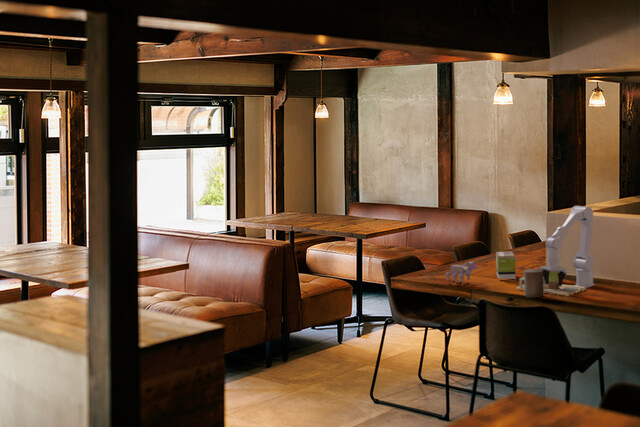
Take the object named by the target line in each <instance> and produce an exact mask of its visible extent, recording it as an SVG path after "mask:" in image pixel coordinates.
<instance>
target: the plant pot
mask: <svg viewBox="0 0 640 427" xmlns="http://www.w3.org/2000/svg"><path fill="white" fill-rule="evenodd" d="M544 267H548V265H546V266H544ZM559 268H563V266H562V265H559ZM555 271H556V270H555ZM558 273H560V272H553V271H550V273H549V282H551V281H555V282H559V278H558Z"/></svg>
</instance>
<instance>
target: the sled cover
mask: <svg viewBox="0 0 640 427" xmlns="http://www.w3.org/2000/svg"><path fill="white" fill-rule="evenodd" d="M518 280H519V286H518V287H523V285H524V284H523V282H524V276H523V277H520V278H519V279H518ZM543 284H546V283H545V279H544V277H543Z"/></svg>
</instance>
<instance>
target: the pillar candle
mask: <svg viewBox="0 0 640 427" xmlns="http://www.w3.org/2000/svg"><path fill="white" fill-rule="evenodd" d="M523 277H524V280H523V282H524V284H523V285H524V288H525V291H524V297H525V296H526V297H525V298H529V299H530V298H531V299H534V298H535V299H537V298H536V297H540V296H543V297H544V294H543V270H541V269H539V268H530V269H529V268H528V269H524V272H523ZM540 298H541V297H540Z"/></svg>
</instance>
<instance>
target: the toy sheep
mask: <svg viewBox="0 0 640 427" xmlns="http://www.w3.org/2000/svg"><path fill="white" fill-rule="evenodd" d="M477 268H478V269H479V265H476V264H475V261H469V262H466V263H463V265H461V264H460V265H459V264H452V265H450V271H446V272H445V277H446V281H447V280H450V277H451V275H452V279H453V278H454V281H457V282H458V278H459V279H461V282H464V281H465V280H464V279H465V276H466V278H467V279H466V281H467V280H471V279H470V278H471V275H472V271H474V270H476V269H477ZM464 283H465V282H464Z"/></svg>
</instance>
